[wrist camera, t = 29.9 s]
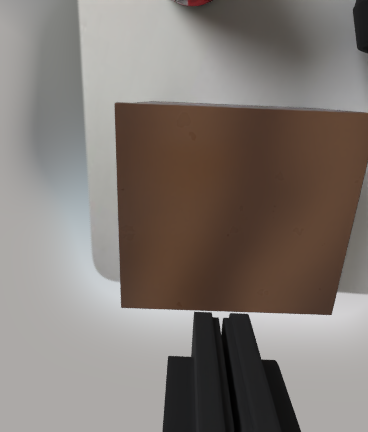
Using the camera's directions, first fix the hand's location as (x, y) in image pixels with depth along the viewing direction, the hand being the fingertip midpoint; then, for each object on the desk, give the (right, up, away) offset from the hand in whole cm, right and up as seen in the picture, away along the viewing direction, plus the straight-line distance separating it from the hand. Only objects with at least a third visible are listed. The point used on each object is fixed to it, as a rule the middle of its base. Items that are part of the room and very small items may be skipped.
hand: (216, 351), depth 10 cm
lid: (+2, +4, +12) cm, 13 cm away
